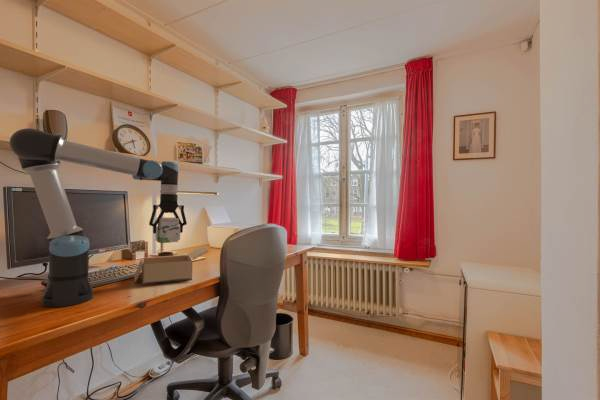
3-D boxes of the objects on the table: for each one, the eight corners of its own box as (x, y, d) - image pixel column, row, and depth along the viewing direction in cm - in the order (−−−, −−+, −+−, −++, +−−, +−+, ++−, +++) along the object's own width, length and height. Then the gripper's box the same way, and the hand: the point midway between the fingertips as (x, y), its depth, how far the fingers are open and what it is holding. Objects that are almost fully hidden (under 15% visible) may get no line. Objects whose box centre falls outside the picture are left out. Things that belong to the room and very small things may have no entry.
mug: (180, 271, 155) (181, 253, 155) (167, 274, 149) (167, 255, 149) (167, 268, 162) (168, 251, 162) (154, 270, 155) (154, 253, 155)
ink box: (160, 243, 136) (161, 218, 136) (156, 242, 140) (157, 217, 140) (178, 241, 142) (179, 217, 142) (175, 240, 146) (175, 217, 146)
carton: (134, 287, 125) (134, 266, 125) (134, 275, 144) (135, 257, 144) (193, 281, 137) (193, 261, 137) (186, 271, 156) (186, 253, 156)
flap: (192, 258, 141) (208, 250, 144) (188, 253, 153) (202, 246, 156) (193, 259, 141) (208, 251, 144) (188, 254, 153) (203, 247, 156)
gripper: (143, 192, 132) (142, 242, 132) (194, 194, 143) (192, 239, 143) (143, 192, 139) (142, 239, 139) (191, 194, 150) (190, 238, 150)
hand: (167, 239), depth 141 cm, fingers closed on ink box, 9 cm apart
